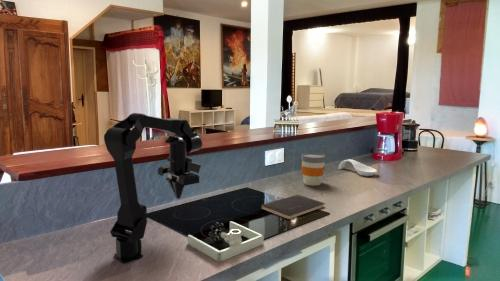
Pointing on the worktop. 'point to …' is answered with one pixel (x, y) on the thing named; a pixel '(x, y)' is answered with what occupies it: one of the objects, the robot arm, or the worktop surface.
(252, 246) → the u-shaped bracket
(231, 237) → the valve
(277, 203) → the hardcover book
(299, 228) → the worktop surface
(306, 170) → the reusable coffee cup
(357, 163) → the spoon rest
